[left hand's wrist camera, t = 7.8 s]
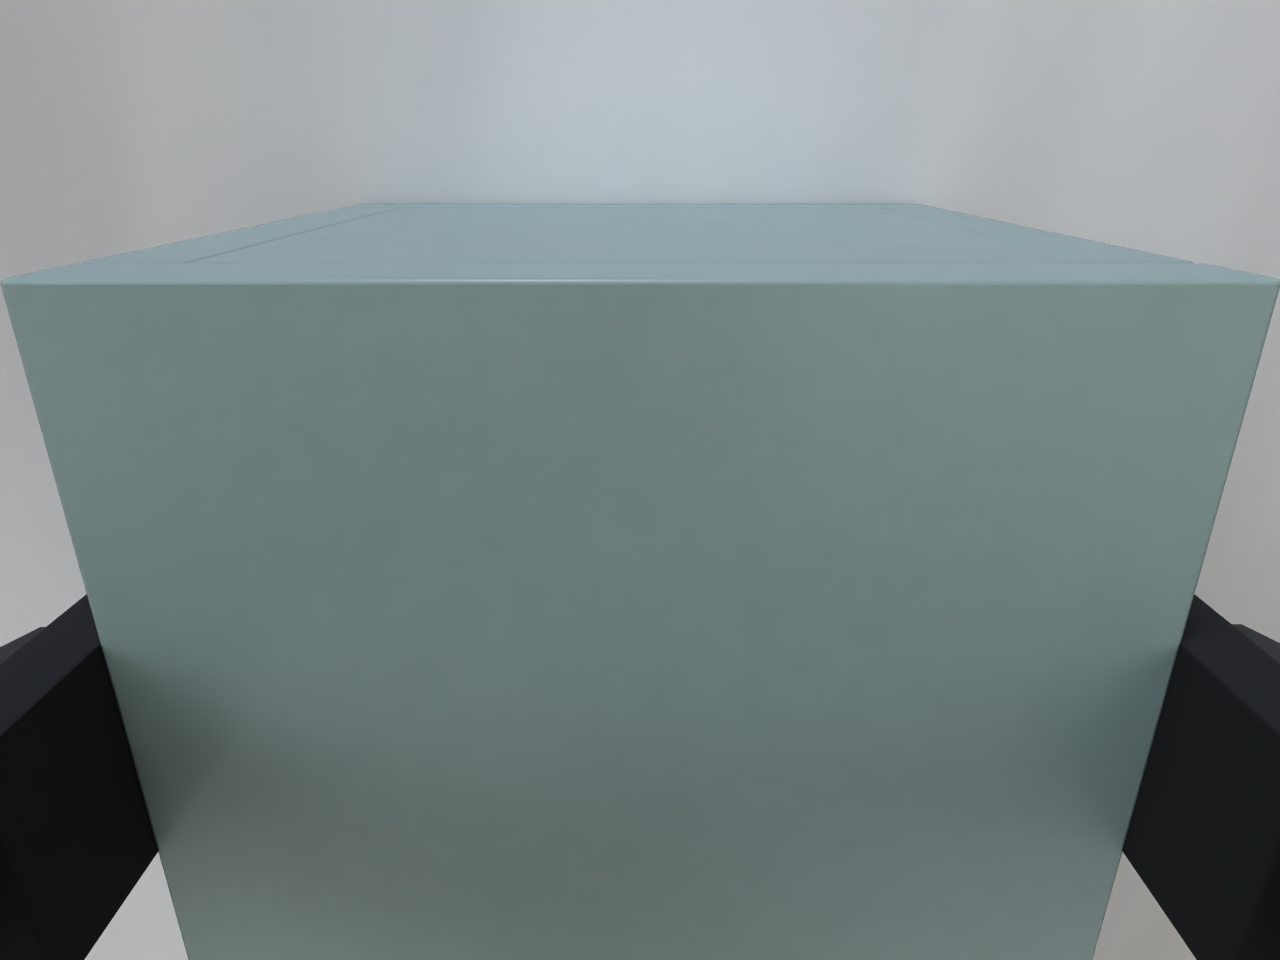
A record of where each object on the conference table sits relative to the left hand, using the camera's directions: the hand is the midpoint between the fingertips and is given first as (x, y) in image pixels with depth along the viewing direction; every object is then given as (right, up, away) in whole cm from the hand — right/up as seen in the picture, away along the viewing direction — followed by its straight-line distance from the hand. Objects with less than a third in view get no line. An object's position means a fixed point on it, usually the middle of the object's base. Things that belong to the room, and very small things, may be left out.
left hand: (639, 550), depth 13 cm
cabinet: (0, -3, +7) cm, 7 cm away
